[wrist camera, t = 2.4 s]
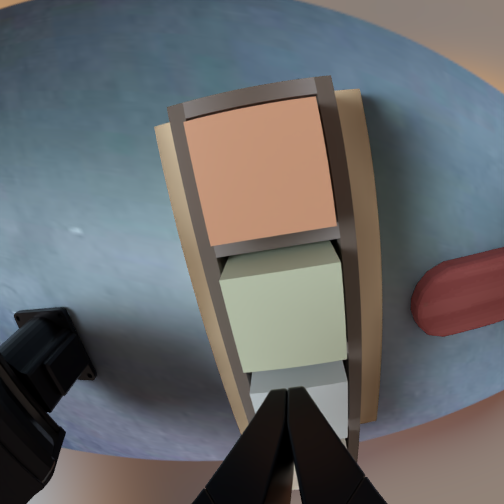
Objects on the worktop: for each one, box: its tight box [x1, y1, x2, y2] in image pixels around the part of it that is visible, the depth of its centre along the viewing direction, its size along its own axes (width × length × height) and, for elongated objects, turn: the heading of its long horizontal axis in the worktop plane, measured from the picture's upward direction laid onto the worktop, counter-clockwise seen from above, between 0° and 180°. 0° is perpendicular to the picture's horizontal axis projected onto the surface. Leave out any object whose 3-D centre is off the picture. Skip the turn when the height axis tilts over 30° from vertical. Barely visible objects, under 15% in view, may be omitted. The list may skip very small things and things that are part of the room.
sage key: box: [219, 240, 347, 373], centre depth 12 cm, size 4×4×3 cm
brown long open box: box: [154, 75, 382, 463], centre depth 16 cm, size 10×21×6 cm, turn 11°
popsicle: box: [411, 247, 504, 337], centre depth 17 cm, size 5×2×15 cm
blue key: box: [250, 360, 348, 439], centre depth 14 cm, size 4×4×3 cm
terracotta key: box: [183, 96, 337, 246], centre depth 11 cm, size 4×4×3 cm
